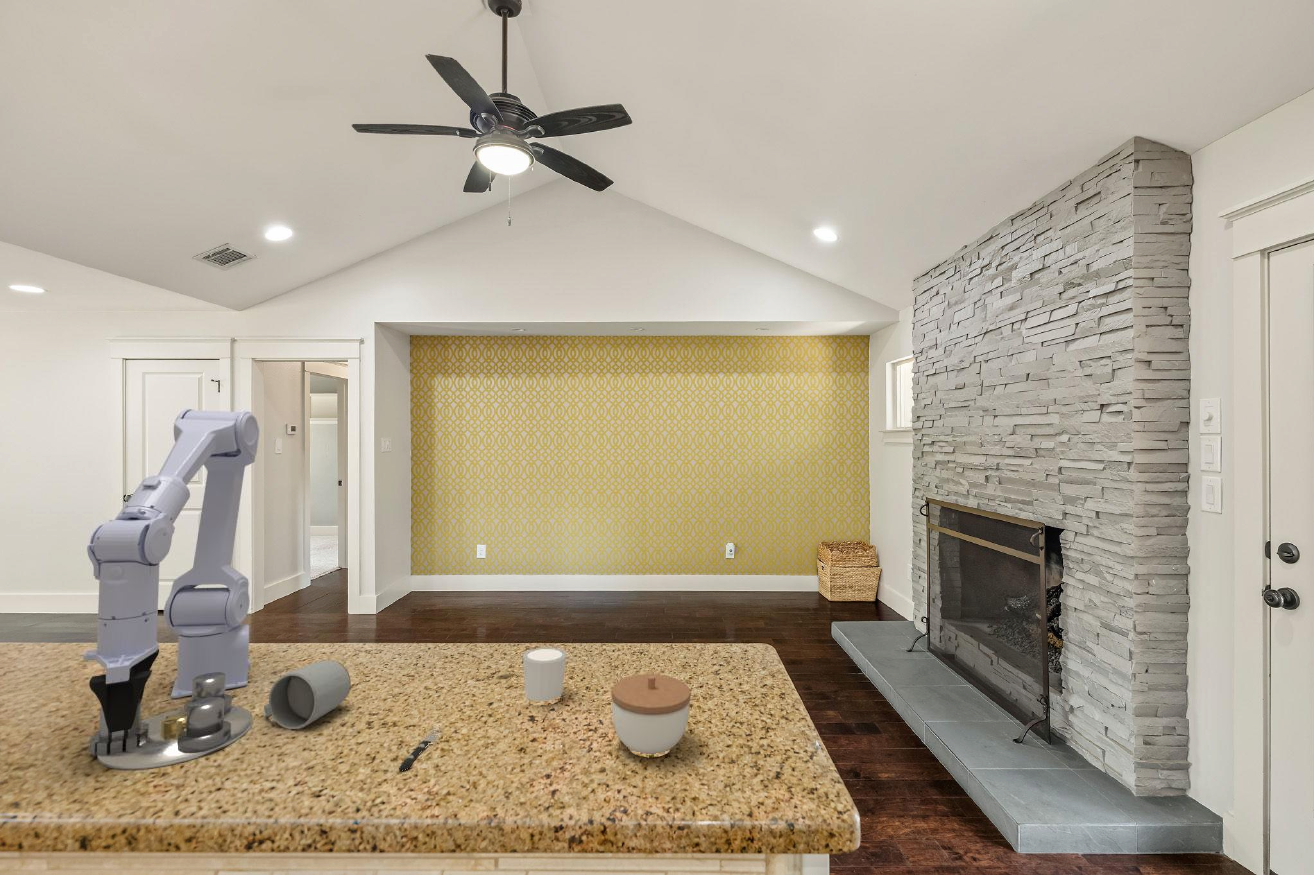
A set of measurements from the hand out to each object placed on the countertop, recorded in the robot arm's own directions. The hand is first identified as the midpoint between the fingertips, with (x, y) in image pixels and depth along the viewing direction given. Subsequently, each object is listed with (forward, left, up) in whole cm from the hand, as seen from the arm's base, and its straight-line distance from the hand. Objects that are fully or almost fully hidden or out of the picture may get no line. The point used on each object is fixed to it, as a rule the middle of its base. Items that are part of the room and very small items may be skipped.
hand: (124, 719), depth 75 cm
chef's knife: (-35, +17, -4) cm, 39 cm away
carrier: (-6, 0, -4) cm, 7 cm away
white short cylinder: (-52, +14, -4) cm, 54 cm away
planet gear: (0, 0, -3) cm, 3 cm away
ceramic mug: (-20, +2, -4) cm, 20 cm away
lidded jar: (-58, +35, -4) cm, 68 cm away
